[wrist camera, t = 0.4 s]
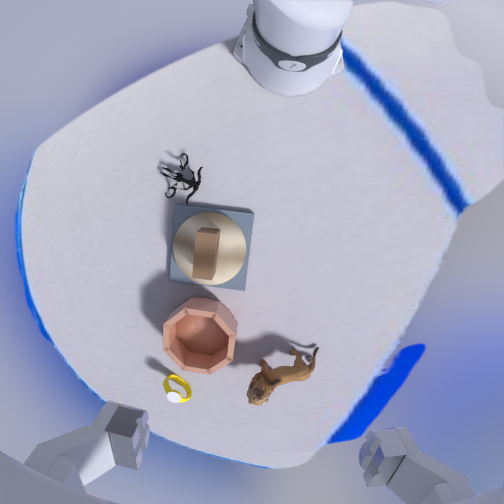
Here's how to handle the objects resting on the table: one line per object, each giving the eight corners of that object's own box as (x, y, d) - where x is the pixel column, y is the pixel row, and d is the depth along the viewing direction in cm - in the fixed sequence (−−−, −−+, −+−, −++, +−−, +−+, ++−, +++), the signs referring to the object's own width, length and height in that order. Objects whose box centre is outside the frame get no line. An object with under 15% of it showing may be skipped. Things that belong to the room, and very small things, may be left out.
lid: (177, 208, 51) (167, 211, 45) (250, 216, 51) (249, 220, 45) (172, 278, 54) (162, 289, 48) (241, 287, 54) (239, 300, 48)
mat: (176, 204, 52) (175, 204, 51) (254, 213, 52) (254, 213, 51) (171, 278, 55) (169, 280, 54) (244, 288, 55) (244, 290, 54)
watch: (166, 375, 59) (156, 390, 54) (173, 367, 59) (164, 383, 53) (188, 393, 60) (181, 410, 54) (196, 386, 59) (189, 403, 53)
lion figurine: (255, 386, 59) (255, 415, 50) (242, 367, 58) (239, 395, 49) (323, 355, 57) (332, 381, 49) (311, 334, 56) (320, 359, 48)
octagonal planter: (173, 292, 55) (163, 304, 49) (240, 301, 55) (238, 315, 49) (171, 350, 58) (163, 366, 52) (233, 359, 58) (230, 377, 52)
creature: (157, 191, 53) (195, 209, 52) (141, 190, 48) (181, 209, 46) (174, 149, 51) (214, 165, 50) (159, 143, 46) (202, 160, 45)
